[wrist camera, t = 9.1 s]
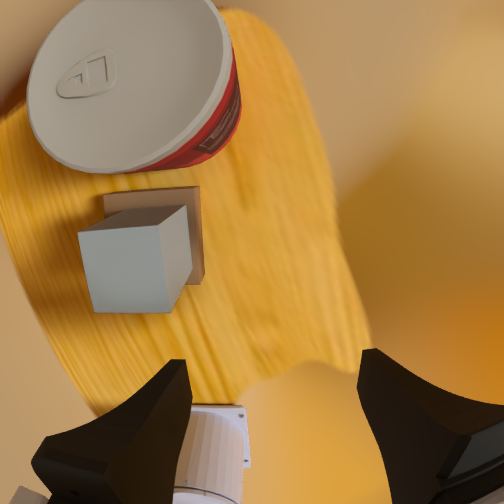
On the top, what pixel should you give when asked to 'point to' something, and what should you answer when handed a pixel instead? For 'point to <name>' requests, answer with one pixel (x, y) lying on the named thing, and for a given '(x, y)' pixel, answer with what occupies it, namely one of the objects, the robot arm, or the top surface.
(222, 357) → the top surface
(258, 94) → the top surface
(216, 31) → the canned food
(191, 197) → the walnut block
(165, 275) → the grey block
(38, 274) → the top surface
